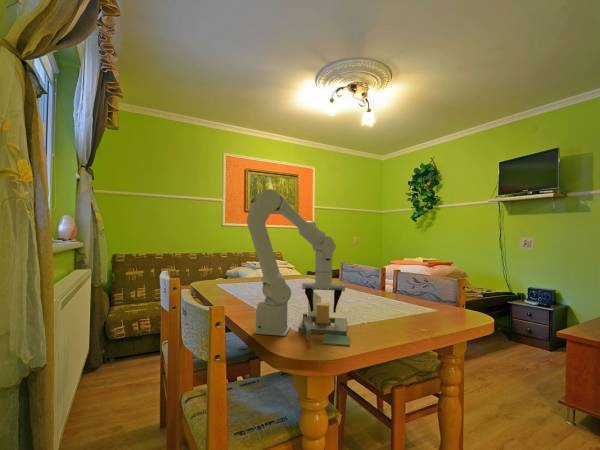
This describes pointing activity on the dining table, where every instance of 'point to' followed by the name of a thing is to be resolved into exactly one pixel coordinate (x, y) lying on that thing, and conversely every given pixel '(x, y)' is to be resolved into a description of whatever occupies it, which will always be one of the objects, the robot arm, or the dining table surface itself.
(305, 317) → the retaining bar
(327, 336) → the pad
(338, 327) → the dock plate
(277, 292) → the robot arm
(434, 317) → the dining table surface
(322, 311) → the plug
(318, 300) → the white wedge bracket
